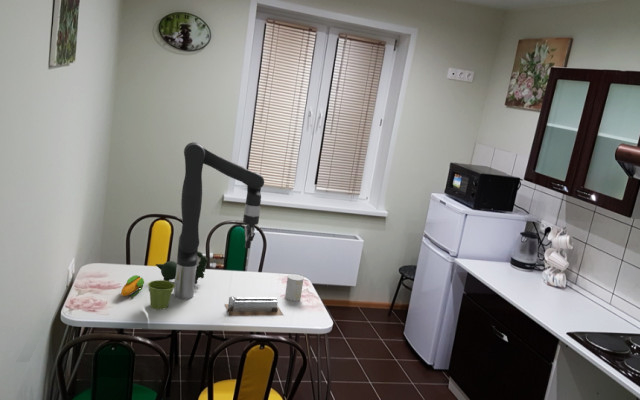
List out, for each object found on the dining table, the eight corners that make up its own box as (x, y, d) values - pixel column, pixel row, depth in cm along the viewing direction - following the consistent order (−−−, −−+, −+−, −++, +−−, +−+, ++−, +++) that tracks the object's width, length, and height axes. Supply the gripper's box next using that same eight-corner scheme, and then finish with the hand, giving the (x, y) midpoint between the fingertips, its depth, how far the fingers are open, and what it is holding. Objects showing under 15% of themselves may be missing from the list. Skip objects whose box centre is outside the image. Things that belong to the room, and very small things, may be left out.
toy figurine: (202, 284, 288) (153, 276, 283) (209, 250, 285) (160, 242, 280) (201, 291, 279) (151, 283, 274) (208, 256, 275) (158, 247, 271)
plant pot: (171, 314, 244) (174, 290, 242) (144, 312, 241) (146, 288, 239) (173, 303, 255) (175, 280, 253) (147, 302, 253) (149, 279, 251)
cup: (294, 303, 276) (297, 281, 274) (281, 298, 280) (284, 276, 278) (303, 299, 283) (306, 277, 280) (290, 294, 287) (293, 273, 285)
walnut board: (229, 317, 249) (229, 315, 248) (224, 306, 260) (224, 304, 260) (283, 317, 258) (283, 315, 258) (276, 305, 270) (276, 304, 270)
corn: (147, 272, 268) (131, 286, 248) (147, 287, 269) (131, 302, 250) (132, 271, 268) (115, 285, 248) (132, 286, 269) (115, 301, 250)
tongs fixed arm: (228, 312, 252) (230, 300, 251) (227, 308, 256) (228, 296, 255) (277, 311, 261) (279, 299, 260) (275, 308, 264) (276, 296, 263)
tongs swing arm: (235, 308, 256) (236, 298, 255) (234, 307, 258) (235, 297, 257) (275, 308, 263) (277, 298, 262) (275, 307, 265) (276, 297, 264)
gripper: (241, 209, 268) (237, 243, 271) (247, 216, 256) (242, 251, 259) (256, 210, 270) (252, 244, 274) (262, 217, 258) (257, 252, 262)
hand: (247, 247), depth 266 cm, fingers closed
